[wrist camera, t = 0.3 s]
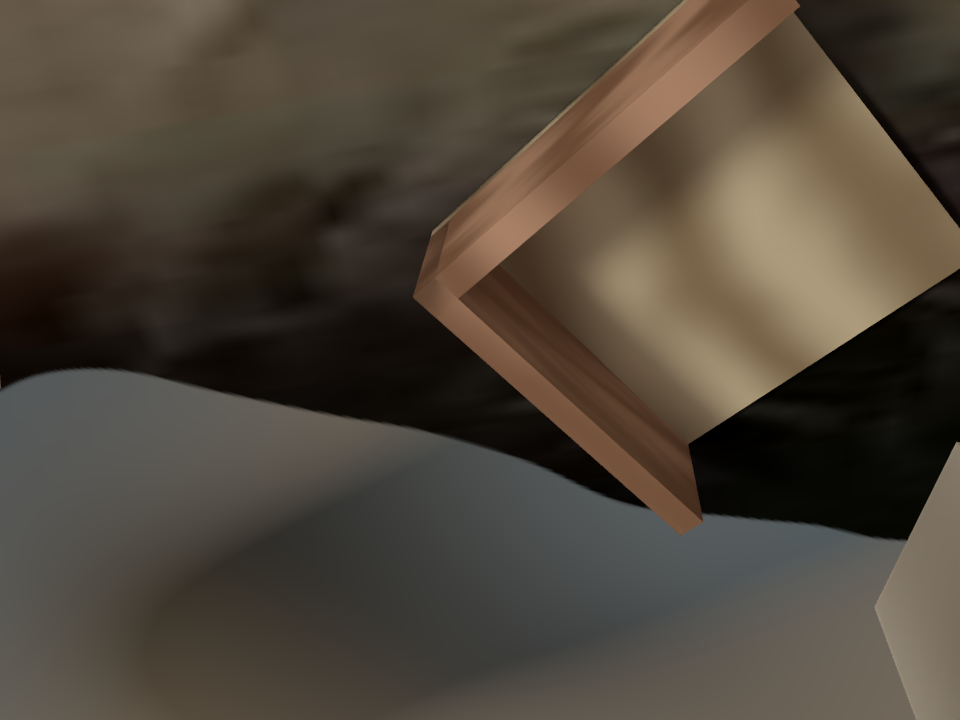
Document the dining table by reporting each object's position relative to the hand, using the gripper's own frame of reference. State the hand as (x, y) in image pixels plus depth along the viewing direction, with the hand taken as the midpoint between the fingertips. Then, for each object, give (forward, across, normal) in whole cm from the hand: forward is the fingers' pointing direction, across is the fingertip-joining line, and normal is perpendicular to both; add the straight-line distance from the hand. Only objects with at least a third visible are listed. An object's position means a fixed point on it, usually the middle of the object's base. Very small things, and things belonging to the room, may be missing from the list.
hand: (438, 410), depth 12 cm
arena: (+26, +6, -4) cm, 28 cm away
